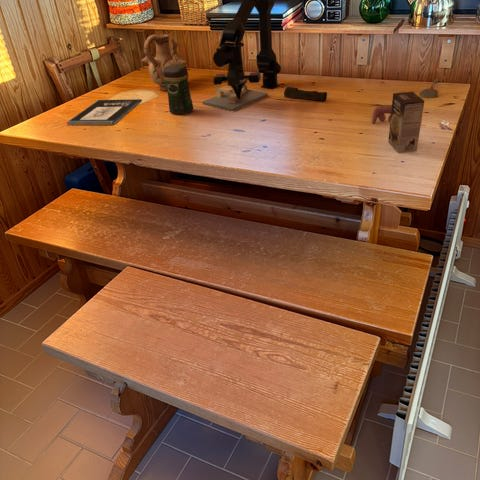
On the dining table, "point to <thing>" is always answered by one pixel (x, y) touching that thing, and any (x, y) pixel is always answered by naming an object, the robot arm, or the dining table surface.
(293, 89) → the hand tool
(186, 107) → the coffee jar
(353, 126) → the dining table surface
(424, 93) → the soupspoon
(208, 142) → the dining table surface
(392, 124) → the coffee box
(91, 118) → the sketchbook
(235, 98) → the birch latch bar
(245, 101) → the keeper baseplate
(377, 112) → the toy animal
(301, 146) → the dining table surface
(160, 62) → the ceramic vessel
